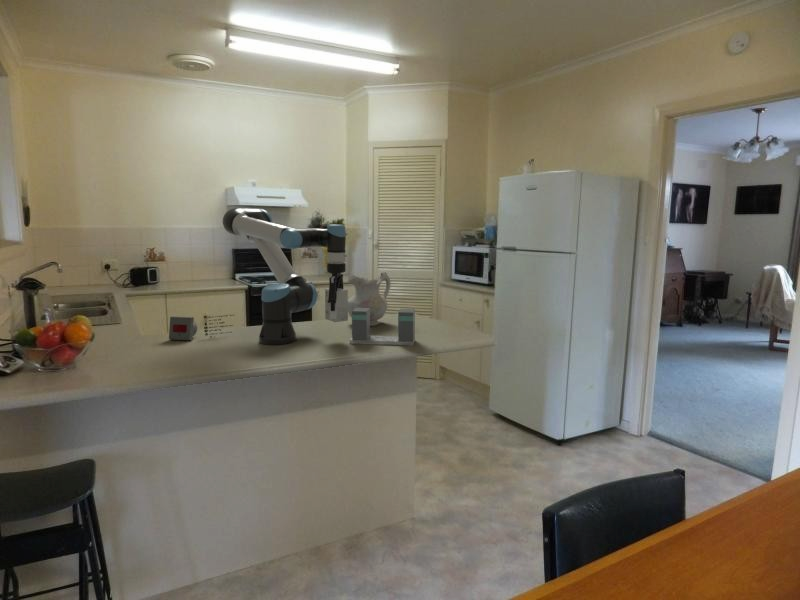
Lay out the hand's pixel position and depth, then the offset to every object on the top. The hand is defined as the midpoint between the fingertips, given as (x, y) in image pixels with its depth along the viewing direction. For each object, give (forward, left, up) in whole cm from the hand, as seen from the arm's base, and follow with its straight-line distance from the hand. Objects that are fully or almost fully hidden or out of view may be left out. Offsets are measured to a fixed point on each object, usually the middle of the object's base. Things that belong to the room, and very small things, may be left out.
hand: (336, 315), depth 213 cm
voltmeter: (-58, -2, -11) cm, 59 cm away
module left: (+10, 0, -9) cm, 14 cm away
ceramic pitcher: (+7, +36, -11) cm, 38 cm away
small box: (0, 0, -2) cm, 2 cm away
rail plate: (+19, 0, -11) cm, 22 cm away
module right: (+29, 0, -9) cm, 31 cm away
